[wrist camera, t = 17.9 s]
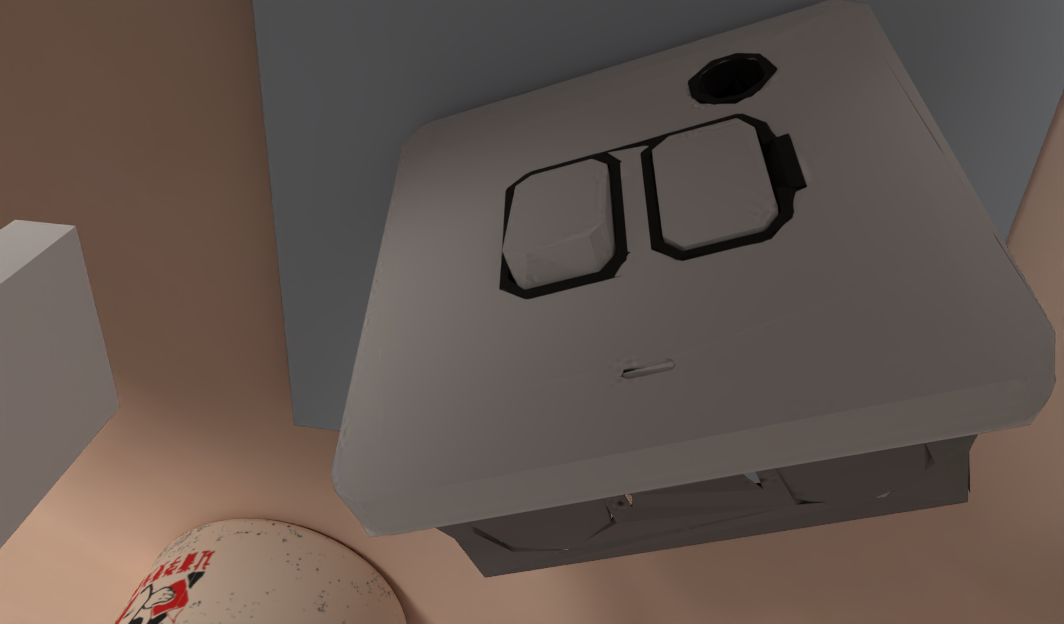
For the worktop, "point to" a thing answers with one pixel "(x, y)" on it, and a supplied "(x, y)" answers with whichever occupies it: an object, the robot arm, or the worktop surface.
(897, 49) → the pad
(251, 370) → the worktop surface
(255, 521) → the teacup with lid
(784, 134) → the electrical switch
